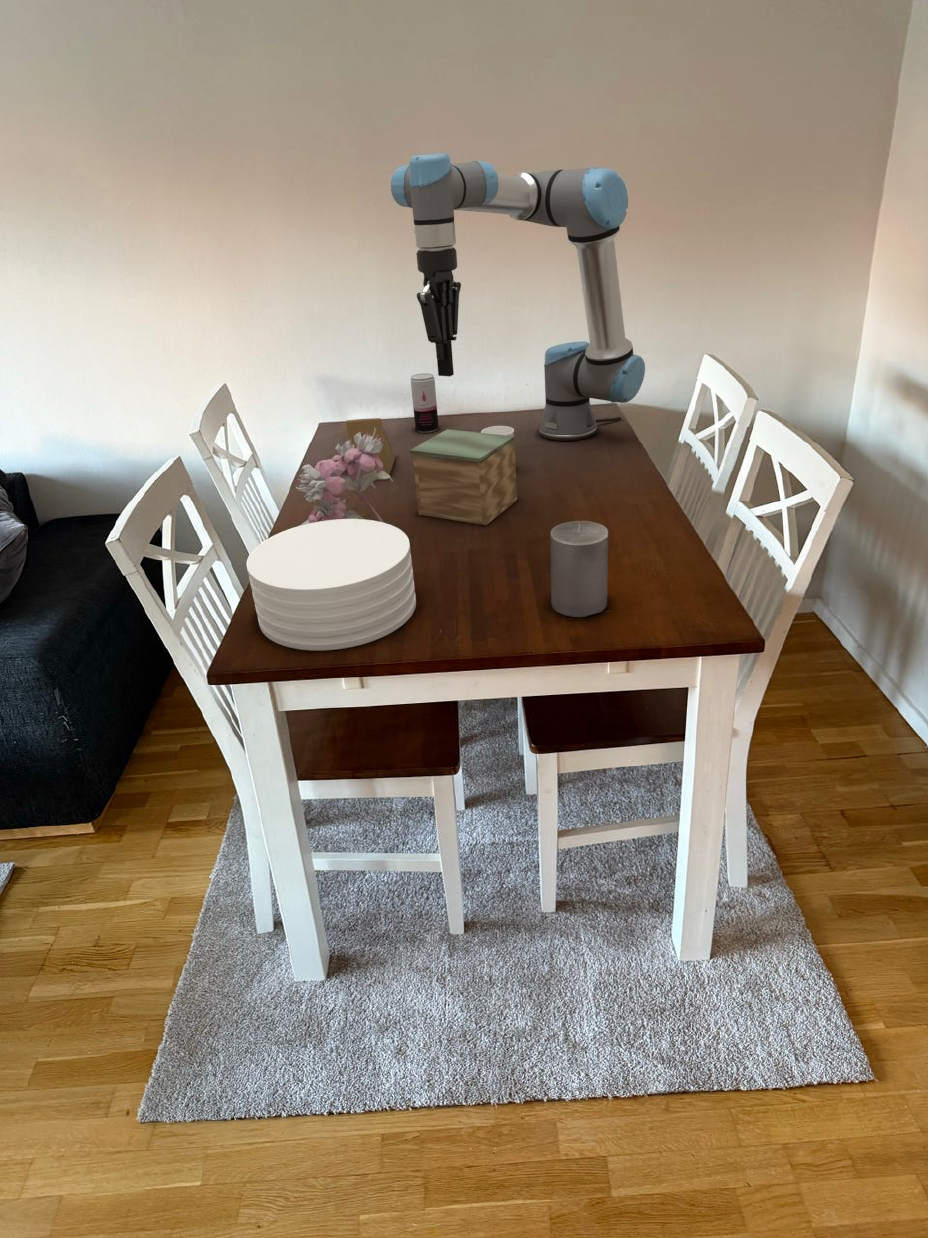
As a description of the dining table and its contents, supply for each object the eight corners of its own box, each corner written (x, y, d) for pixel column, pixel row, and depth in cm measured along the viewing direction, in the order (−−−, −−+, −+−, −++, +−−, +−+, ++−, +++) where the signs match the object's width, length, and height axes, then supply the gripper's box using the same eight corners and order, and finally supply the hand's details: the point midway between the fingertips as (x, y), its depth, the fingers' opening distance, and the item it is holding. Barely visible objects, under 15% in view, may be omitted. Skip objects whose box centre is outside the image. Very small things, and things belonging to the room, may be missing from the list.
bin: (486, 525, 183) (482, 462, 176) (418, 514, 191) (412, 453, 184) (517, 500, 194) (514, 439, 187) (452, 491, 201) (447, 432, 195)
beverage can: (441, 426, 246) (436, 372, 239) (435, 433, 240) (430, 378, 233) (419, 425, 247) (414, 372, 240) (412, 433, 242) (407, 379, 235)
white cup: (478, 475, 209) (476, 435, 204) (490, 464, 216) (487, 424, 211) (509, 477, 206) (507, 436, 202) (520, 466, 213) (518, 426, 208)
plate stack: (417, 641, 143) (410, 580, 137) (248, 658, 142) (234, 596, 137) (414, 567, 167) (408, 512, 162) (269, 581, 167) (258, 526, 161)
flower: (370, 501, 195) (309, 413, 179) (437, 514, 180) (376, 420, 164) (313, 565, 188) (244, 480, 173) (377, 585, 173) (308, 494, 157)
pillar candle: (560, 588, 156) (559, 510, 149) (613, 595, 153) (615, 515, 145) (543, 613, 148) (541, 533, 141) (599, 621, 145) (600, 539, 137)
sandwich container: (396, 457, 225) (389, 399, 218) (388, 478, 212) (381, 418, 204) (363, 458, 226) (356, 401, 218) (353, 479, 212) (345, 419, 205)
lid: (479, 462, 175) (479, 458, 175) (409, 453, 183) (409, 450, 182) (514, 439, 187) (514, 436, 187) (447, 432, 195) (447, 429, 194)
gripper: (436, 243, 168) (446, 366, 180) (400, 253, 159) (412, 382, 170) (470, 242, 165) (478, 368, 177) (435, 252, 155) (445, 384, 167)
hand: (446, 374), depth 173 cm, fingers closed
